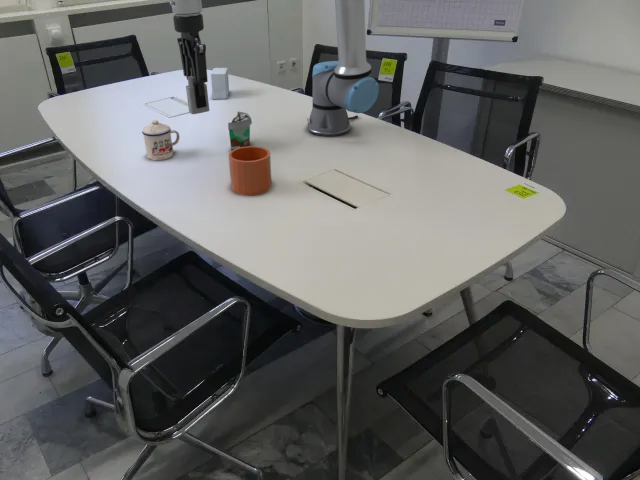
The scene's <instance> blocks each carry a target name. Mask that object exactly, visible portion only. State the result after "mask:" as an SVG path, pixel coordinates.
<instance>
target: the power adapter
mask: <svg viewBox="0 0 640 480" xmlns="http://www.w3.org/2000/svg"><path fill="white" fill-rule="evenodd" d="M194 82H195V80H194V76H192V68H191V76H189V77H188V80H187V84H189V85H185V90H186V98H187V106H188V113H189V114H190V115H197V114H198V115H199V114H203V113H207V112H210V110H211V109H210V103H209V94H208V92H209V91H208V84H206V82H205V83H204V88H205V96H206V105H207V107H203V108H197V107H196V99H195V91H194V85H193V83H194Z"/></svg>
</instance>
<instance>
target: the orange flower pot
mask: <svg viewBox="0 0 640 480" xmlns="http://www.w3.org/2000/svg"><path fill="white" fill-rule="evenodd" d="M228 167H229V177H230V187H231V190H232V191H233V192H234V193H236V194H238V195H241V196H242V195H243V196H257V195H262V194H265V193H267V192H268V191H270V190H271V188H272V158H271V152H270V150H269V149H267V148H266V147H262V146H257V145H250V146H246V147H240V148H236V149H234V150H232V151H229V153H228Z"/></svg>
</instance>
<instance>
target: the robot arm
mask: <svg viewBox="0 0 640 480" xmlns="http://www.w3.org/2000/svg"><path fill="white" fill-rule="evenodd" d="M365 2H366V1H365V0H334V5H335V23H336V42H337V56H338V58H337V59H338V60H330V61H329V60H328V61H322V62H319V63H315V64H314V65H313V68H312V75H311V77H312V108H311V111H310V115H309V117H306V121H307V125H306V127H307V128H306V129H307V131H308V132H309V133H310V134H312V135H316V136H320V137H337V136H341V135H345V134H347V133H349V132H350V130H351V122H350V121H352V120H355V119H359V115H358V114H362V113H365V112H367V111H369V110H370V109H371V108H372V107H373V106H374V104H375V103H376V101H377V99H378V97H379V92H380V85H379V83H378V81H377V80H376V79H375V78H374V77H372V65H371V64H370V63H369V62H368V61H367V46H366V45H367V44H366V42H367V41H366V9H365V8H366V7H365V6H366V5H365V4H366V3H365ZM169 5H170V6H171V11H172V14H173V17H172V20H173V26H174V27H173V28H174V32H177V33H179V34H180V37H177V39H176V40H177V41H176V42H177V45H178V47H179V48H178V49H179V54H180V55H179V56H180V60H181V67H182V72H183V76H184V77H186V80H187V81H188V77H189V76H191V68H192V76H194V80H195V82H194V83H193V85H194V91H195V99H196V107H197V108H203V107H207V105H206V96H205V88H204V83H205V84H206V83H208V69H207V68H208V67H207V55H206V51H207V46H206V44H205V43H204V44H202V40H201V37H200V34H199V33H200V32H202V31H204V28H205V24H204V16H203V14H202V12H203V3H202V0H170V1H169ZM187 84H188V83H187ZM188 85H189V84H188ZM348 112H350V113H354V114H355V115H354V116H348ZM356 114H357V115H356Z"/></svg>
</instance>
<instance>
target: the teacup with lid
mask: <svg viewBox="0 0 640 480" xmlns="http://www.w3.org/2000/svg"><path fill="white" fill-rule="evenodd" d="M141 133H142V135H143V141H144V147H145V152H146V157H147V158H148V159H149V160H151V161H164V160H167V159H169V158H171V157H173V156H174V147H173V146H176V145H177V144H178V143H179V141H180V138H181V137H180V133H179V132H178V131H177V130H176V129H171V127H170V125H168V124H166V123H162V122H159V120H158V119H153V120H152V121H151V123H149V124H148V125H146V126H144V127H143V128H142V131H141ZM172 134H176V137H175V138H176V139H175V140H174V141H173V140H172Z"/></svg>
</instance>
